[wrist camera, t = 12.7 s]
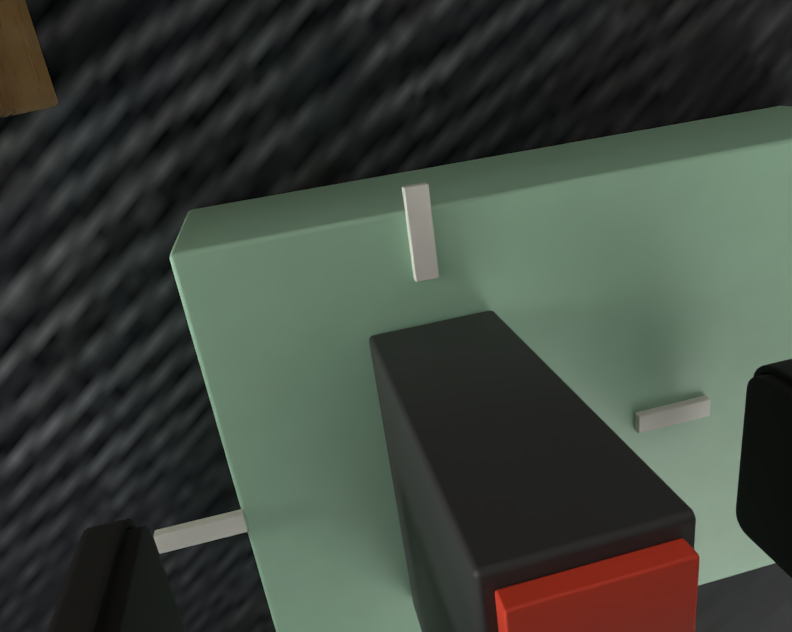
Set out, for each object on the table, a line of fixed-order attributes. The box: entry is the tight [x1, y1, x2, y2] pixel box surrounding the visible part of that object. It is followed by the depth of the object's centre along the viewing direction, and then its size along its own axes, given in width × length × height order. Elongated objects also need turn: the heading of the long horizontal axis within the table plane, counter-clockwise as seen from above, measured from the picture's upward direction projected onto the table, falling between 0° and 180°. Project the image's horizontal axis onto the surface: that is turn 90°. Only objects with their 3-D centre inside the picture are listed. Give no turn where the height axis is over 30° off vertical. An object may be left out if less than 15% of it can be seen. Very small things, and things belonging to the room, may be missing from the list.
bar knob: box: [369, 311, 700, 632], centre depth 8 cm, size 6×2×5 cm, turn 8°
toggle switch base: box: [154, 106, 792, 632], centre depth 12 cm, size 13×10×3 cm
